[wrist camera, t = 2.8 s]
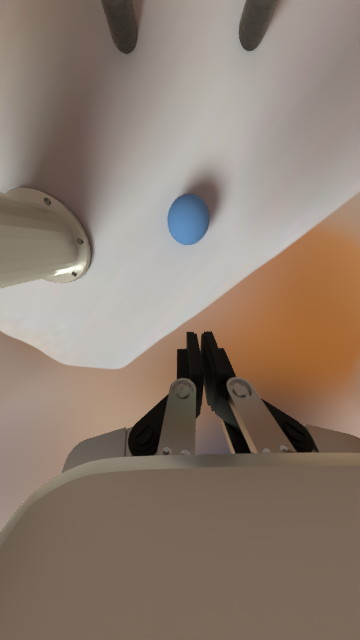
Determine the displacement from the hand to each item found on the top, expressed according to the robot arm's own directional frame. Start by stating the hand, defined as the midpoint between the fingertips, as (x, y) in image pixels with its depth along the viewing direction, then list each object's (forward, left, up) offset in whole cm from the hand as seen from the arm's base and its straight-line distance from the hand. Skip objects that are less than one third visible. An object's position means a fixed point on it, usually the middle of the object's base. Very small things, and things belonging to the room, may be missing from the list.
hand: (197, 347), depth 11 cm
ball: (0, +10, -14) cm, 17 cm away
